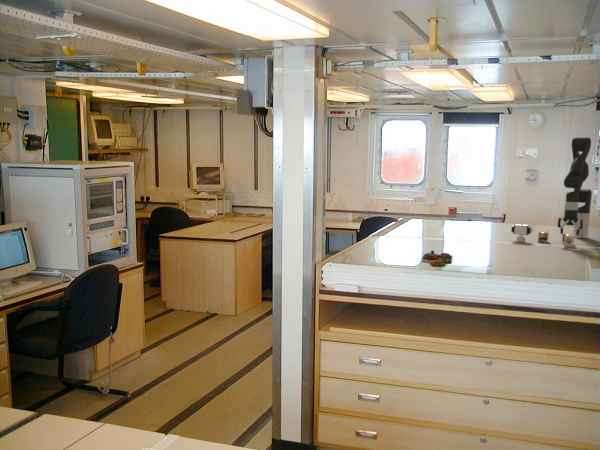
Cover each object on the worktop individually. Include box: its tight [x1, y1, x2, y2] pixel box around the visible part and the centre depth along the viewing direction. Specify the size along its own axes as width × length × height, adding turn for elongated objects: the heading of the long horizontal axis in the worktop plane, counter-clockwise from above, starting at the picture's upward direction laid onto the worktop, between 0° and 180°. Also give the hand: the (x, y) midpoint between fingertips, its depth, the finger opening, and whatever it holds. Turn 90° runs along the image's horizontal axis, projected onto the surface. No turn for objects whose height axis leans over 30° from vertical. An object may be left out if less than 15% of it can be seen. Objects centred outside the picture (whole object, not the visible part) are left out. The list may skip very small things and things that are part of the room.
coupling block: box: [563, 235, 575, 248], centre depth 381 cm, size 7×5×7 cm
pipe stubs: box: [537, 230, 573, 245], centre depth 393 cm, size 6×20×7 cm, turn 61°
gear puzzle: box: [420, 250, 453, 267], centre depth 326 cm, size 31×16×4 cm, turn 165°
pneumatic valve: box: [510, 223, 533, 243], centre depth 397 cm, size 6×12×12 cm, turn 57°
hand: (569, 234), depth 380 cm, fingers open, 8 cm apart
